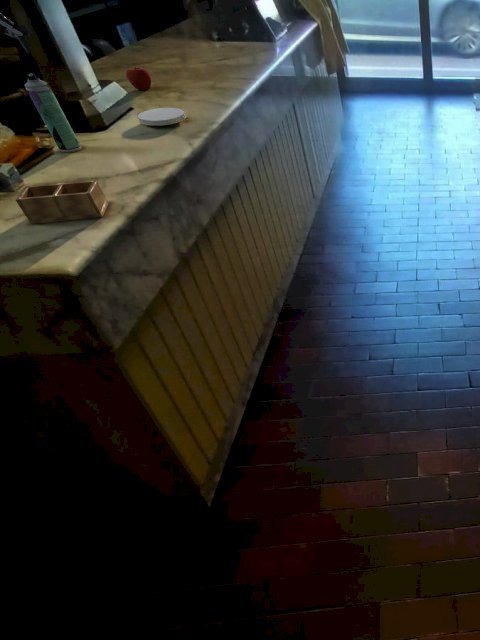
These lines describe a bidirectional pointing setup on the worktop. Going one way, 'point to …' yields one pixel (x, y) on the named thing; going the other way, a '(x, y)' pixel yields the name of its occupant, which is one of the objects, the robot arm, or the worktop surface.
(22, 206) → the box
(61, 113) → the spray can
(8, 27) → the robot arm
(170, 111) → the plastic lid
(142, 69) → the apple
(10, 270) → the worktop surface
